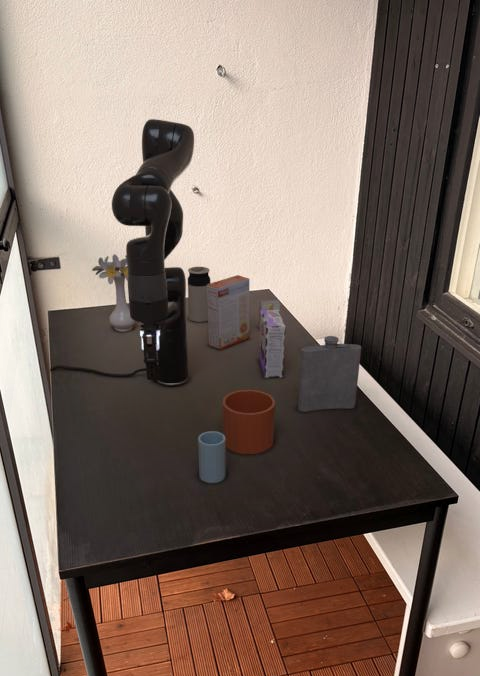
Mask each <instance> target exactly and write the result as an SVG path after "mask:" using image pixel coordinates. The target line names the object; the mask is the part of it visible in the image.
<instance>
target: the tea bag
mask: <svg viewBox="0 0 480 676" xmlns="http://www.w3.org/2000/svg"><path fill="white" fill-rule="evenodd" d="M280 302H281V301H280V300H279V299H273V300H272V299H271V300H260V301H259V307H258V329H259V330H260V317H261V310H279V312H280V313H281V303H280Z"/></svg>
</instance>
